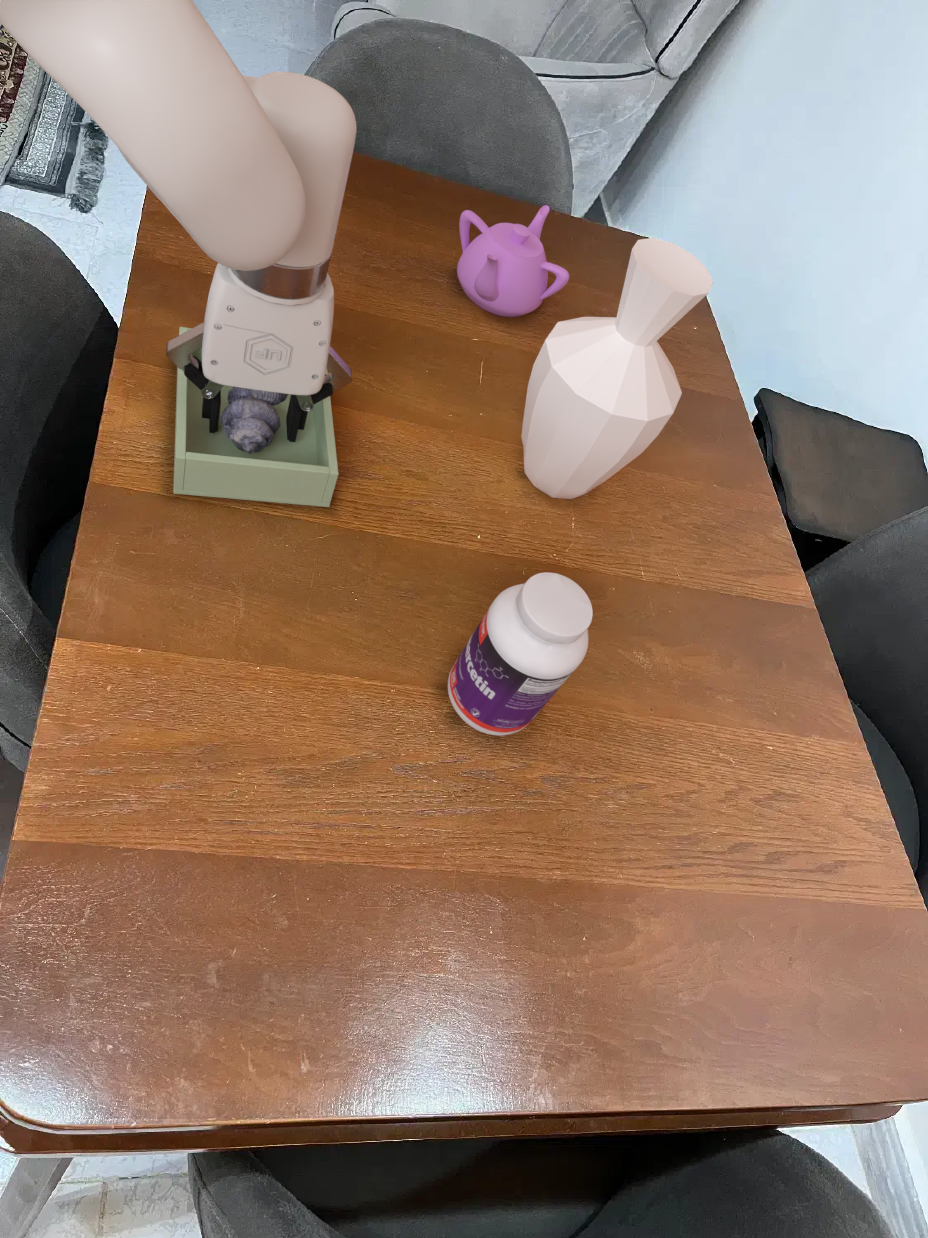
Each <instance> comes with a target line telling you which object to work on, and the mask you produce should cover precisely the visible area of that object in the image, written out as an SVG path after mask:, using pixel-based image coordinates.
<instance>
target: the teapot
mask: <svg viewBox="0 0 928 1238" xmlns="http://www.w3.org/2000/svg"><path fill="white" fill-rule="evenodd" d="M549 213H550V206H549V205H547V204H544V205H542V207H540V209H538V212H537V213H536V214H535V217H534V218H533V219H532V221H531V222H530V223H529V225H528V226H526V225H523V224H521V223H512V222H499V223H495V224H494V225H492V226H490V227H489V226H488V225H487V224H486V222H485V221H484V220H483V219H482V218H481V217H480V216H479V215H478V214H476V212H474V211H472V210H470V209H465V210H463V211H462V213H461V214H460V217H459V222H458V223H459V224H458V227H459V230H458V231H459V239H460V245H461V250H462V254H461V256H460V258H459V260H458V262H457V265H456V274H457V279H458V281H459V284H460V286H461V288H462V290H463V292H464V294H465V295H466V297H467V298H468V299H469V300H470V301H472V302H473V303H474V304H475V305H476V306H478V307H479V308H481V309H482V310H484V311H487V312H488V313H490V314H494V315H497V316H500V317H506V318H517V317H521V316H524V315H527V314H530V313H532V312H534V311H535V310H537V309H538V308H539V307H540V306H541V305H542V303H543V300H545V299H547V298H549V297H551V296H552V295H555V294H556V293H558V292H559V291H561V290H562V289H563V288H564V287H565V286H566V285H567V284H568V282H569V280H570V273H569V272H568V270H567V269H566V268H565V267H562V266H560V265H558V264H555V263H552V262H550V261H547V256H546V251H545V248H544V245H543V243H542V241H541V240H540V239H541V235H542V231H543V227H544V224H545V221H546V218H547V217H548V215H549ZM471 224H473V225H474V226H475V227H476V228H477V229H478V230H479V231H480V232H481V233H480V234H479V235H477V236H476V237H475V238H474V239H473V240H472V241H470V227H471ZM548 272H549V273H552V274H554V275H555V280H554V281H553V282H552V284H551V285H550V286H548V280H549V273H548Z"/></svg>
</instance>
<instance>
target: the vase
mask: <svg viewBox="0 0 928 1238" xmlns="http://www.w3.org/2000/svg"><path fill="white" fill-rule="evenodd" d="M627 264H628V265H627V269H626V273H625V278H624V282H623V286H622V291H621V295H620V300H619V304H618V307H617V308H618V309H617V314H616V316H614V317H613V316H607V317H606V316H580V317H575V318H571V319H565V320H561V321H557V322H556V324H555V325H554V326H553V328H552V329H551V331H550V332H549V334H548V335H547V337H546V338H545V339H544V341H543V344H542V346H541V348H540V350H539V353H538V354H537V356H536V358H535V361H534V363H533V365H532V369H531V373H530V376H529V380H528V383H527V388H526V389H527V390H526V397H525V404H524V411H523V419H522V424H521V425H522V427H521V435H520V437H521V443H522V447H523V468H524V469H523V471H524V474H525V476H526V477H527V478H528V480H529V481H530V483H531V485H532V486H533V487H535V488H536V489H537V490H539V491H541V492H542V493H544V494H545V495H547V496H548V497H550V498H552V499H561V500H573V499H576V498H579V497H581V496H585V495H586V494H588V493H589V492H591V491H592V490H593V489H595V488H596V487H598V486H600V485H602V484H603V483H605V482H606V481H607V480H609V479H610V478H612V477H613V476H614V475H615V474H617V473H618V472H620V471H621V470H622V469H623V468H624V467H626V466H627V465H628V464H630V463H631V462H633V461H634V460H636V458H637V457H639V456H640V455H642V454H643V453H644V452H645V451H646V449H647V448H648V447H649V446H650V445H651V444H652V443H653V442H654V440H655V439H656V438H657V437H659V435H660V433H661V432H662V430H663V429H664V427H665V426H666V424H667V423H668V422H669V420H670V419H671V417H672V416H673V414H674V413H675V410H676V408H677V405H678V403H679V401H680V399H681V397H682V394H683V391H682V389H681V386H680V383H679V380H678V377H677V374H676V371H675V368H674V366H673V365H672V363H671V362H670V360H669V358H668V356H667V354H666V353H665V352H664V350H663V349H662V347H661V345H660V344H659V342H658V340H659V339H660V338H662V337H663V336H664V335H665V334H666V333H667V332H668V331H669V330H670V329H671V328H672V327H674V326H675V325H676V324H677V323H678V322H679V321H680V320H682V318H684V317H685V315H687V314H688V313H689V312H690V311H691V310H692V309H693V308H694V307H695V306H696V305H698V304H699V303H700V302H701V301H702V300H703V299H704V298H705V297H706V296H707V295H708V294H709V293H710V291H711V289H712V287H713V285H714V281H713V278H712V276H711V274H710V271H709V269H708V267H706V266H705V265H704V264H703V263H702V261H700V260H699V259H698V258H697V257H696V256H695V255H694V254H693V253H691V252H689V251H688V250H686V249H684V248H683V247H680V245H677V244H675V243H674V242H670V241H667V240H663V239H659V238H655V237H648V238H641V239H637V240H636V242H635V244H634V245H633V246H632V248H631V252H630V256H629V261H628V263H627Z"/></svg>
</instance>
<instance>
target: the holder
mask: <svg viewBox="0 0 928 1238" xmlns="http://www.w3.org/2000/svg"><path fill="white" fill-rule="evenodd" d="M192 328H193V327H186V326H179V329H178V336H179V335H181V334H183V333H185V332H187V331H188V330H190V329H192ZM191 355H193V356H195V357H197V358H198V359H199V360H200V361H201V362H202V348H201V349H199V350H197V351H195V352H193V353H191ZM328 373H329V371H328V369H327V368H326V372H325V375H328ZM314 377H315V376H314ZM232 388H233V387H232V386H226V385H224V386H223V387H222V388H221V406H220V415H219V424H218V432H215V433H209V419H206V418H202V403H203V396H202V394H201V390H200V389H199V388H198V387H197V386H196V385H194V384H193V383H192V382H191V381H190V380H189V379H188V378H187V377H186V376H185V375H184V371H182V370H181V369H179V368H178V367H177V366H176V390H175V391H176V394H175V421H174V422H175V424H174V427H175V428H174V454H173V455H174V457H173V458H174V459H173V491H172V493H173V494H174V495H185V496H186V495H187V496H197V497H207V498H220V499H231V500H242V501H243V500H244V501H254V502H263V503H265V502H266V503H278V504H286V505H287V504H288V505H299V506H310V507H311V506H312V507H322V508H330V507H331V501H332V498H333V495H334V492H335V488H336V484H337V481H338V478H339V473H340V472H339V465H338V456H337V446H336V437H335V428H334V427H335V426H334V418H333V410H332V399H331V396H329V397H327V398H325V399H323V400H322V401H320V402H318V403H316V404H314V408H313V409H312V410H311V411H308V414H307V418H306V422H305V427H304V430H299V429H298V432H297V436H296V441H295V442H289V440H287V427H286V416H287V411H288V406H289V401H290V396H291V394H288V395H287V398H286V400H285V401H283V402H281V403H280V404H278V405H275V406H272V405H271V406H272V407H273V408H274V409H276V411H277V413H278V415H279V416H280V424H281V425H280V427H279V429H278V430H277V432H276V433H275V434H273V439H272V442H271V444H270V445H269V446H267V447H265V448H263V449H262V450H260V451H258V452H252V453H251V454H249V453H248V452H244V451H241V450H239V449H238V448H237V447H236V446H235V445H234V444H233V442H232V441H229V439H228V438H227V436H226V434H225V430H224V429H223V426H222V423H221V416H222V413H223V411H224V409H225V408H226V407H227V406H228V405H229V403H228V399H227V397H228V392H229V390H231V389H232Z"/></svg>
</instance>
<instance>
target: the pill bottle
mask: <svg viewBox="0 0 928 1238" xmlns="http://www.w3.org/2000/svg"><path fill="white" fill-rule="evenodd" d="M593 613H594V612H593V605H592V603H591V600H590V597H589V596H588V594H587V593H586V592H585V590H584V589H583V588H582V587H581V586H580V585H579V584H578V583H577V582H575V580H573V579H572V578H569V577H567V576H565V575H562V574H560V573H557V572H551V571H550V572H545V571H544V572H539V573H535V574H534V575H532V576H531V577H529V578H528V579H527V580H526V581H525V582H524V583H520V584H515V585H513V586H510V587H507V588H505V589H503V590H502V591H501V592H500V593H499V594H498V595H497V596H496V597H495V598H494V599H493V600H492V603H491V604H490V605H489V607H488V609H487V610H486V612H485V614H484V615H483V617H482V618H481V620H480V622H479V623H478V625H477V627H476V628H475V629H474V631H473V632H472V634H471V636H470V638H469V639H468V641H467V643H466V644H465V646H464V647H463V649H462V650H461V652H460V653H459V655H458V657H457V659H456V660H455V661H454V663H453V665H452V666H451V669H450V671H449V675H448V679H447V693H448V697H449V700H450V703H451V705H452V708H453V709H454V711H455V712H456V713H457V715H458V716H459V717H460V718H461V720H462V721H463V722H465V724H467V725H468V726H470V727H471V728H473V729H474V730H476V731H477V732H480V733H484V734H486V735H491V736H498V737H499V736H509V735H512V734H515V733H518V732H520V731H522V730H523V729H525V728H526V727H528V726H529V724H531V722H532V721H533V720H534V719H535V718H536V716H538V714H539V713H540V712H541V711H542V709H543V708H544V707H545V706H546V705H547V703H548V702H549V701H550V700H551V699H552V698H553V696H555V694H556V693H557V692H558V690H559V689H560V688H561V687H562V686H563V684H565V682H566V681H567V680H568V679H569V678H570V677H571V676H572V674H573V673H574V672H575V671H576V669H577V668H579V666H580V665H581V664H582V662H583V660H584V658H585V657H586V655H587V653H588V652H587V651H588V648H589V627H590V625H591V624H592V620H593V616H594V614H593Z"/></svg>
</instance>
